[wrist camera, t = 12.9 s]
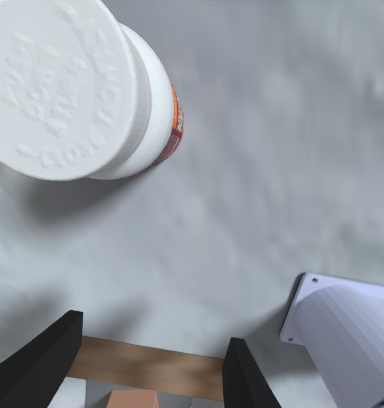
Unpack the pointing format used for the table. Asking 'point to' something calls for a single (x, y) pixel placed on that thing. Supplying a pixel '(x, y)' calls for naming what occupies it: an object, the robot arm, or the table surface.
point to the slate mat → (100, 392)
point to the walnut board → (148, 368)
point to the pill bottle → (81, 93)
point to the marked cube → (133, 399)
